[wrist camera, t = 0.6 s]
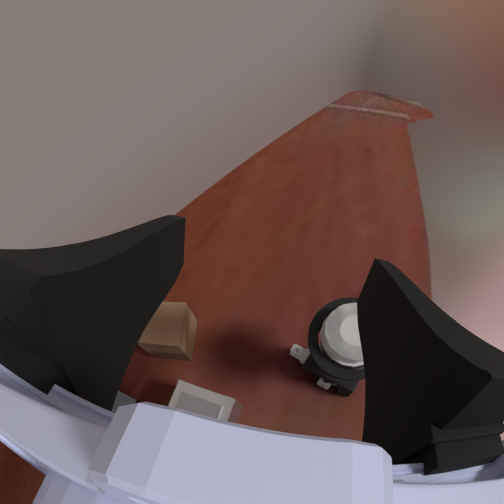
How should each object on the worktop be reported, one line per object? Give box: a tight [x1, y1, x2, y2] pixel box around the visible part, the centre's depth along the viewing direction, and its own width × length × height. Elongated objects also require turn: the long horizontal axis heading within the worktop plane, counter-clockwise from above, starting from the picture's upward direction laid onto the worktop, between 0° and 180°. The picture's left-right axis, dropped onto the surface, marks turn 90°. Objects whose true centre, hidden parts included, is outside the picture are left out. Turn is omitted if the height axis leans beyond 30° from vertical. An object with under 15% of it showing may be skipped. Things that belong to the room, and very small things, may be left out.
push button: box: [290, 298, 365, 397], centre depth 20 cm, size 7×5×10 cm
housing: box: [168, 380, 243, 423], centre depth 19 cm, size 8×4×5 cm, turn 162°
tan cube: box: [138, 302, 197, 361], centre depth 26 cm, size 4×4×4 cm
